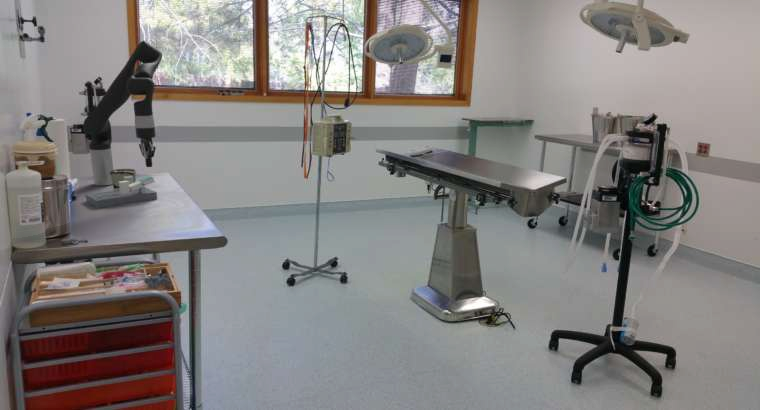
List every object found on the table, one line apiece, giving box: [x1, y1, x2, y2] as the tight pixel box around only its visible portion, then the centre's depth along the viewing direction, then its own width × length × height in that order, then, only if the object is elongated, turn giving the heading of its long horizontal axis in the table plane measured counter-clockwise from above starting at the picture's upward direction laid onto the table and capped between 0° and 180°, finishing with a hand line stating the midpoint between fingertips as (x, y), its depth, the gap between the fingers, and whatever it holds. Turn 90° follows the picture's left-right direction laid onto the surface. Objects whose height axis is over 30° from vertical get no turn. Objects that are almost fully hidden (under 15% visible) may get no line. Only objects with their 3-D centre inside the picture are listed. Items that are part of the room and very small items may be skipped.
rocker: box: [129, 175, 156, 191], centre depth 231 cm, size 5×10×2 cm, turn 133°
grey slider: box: [123, 176, 134, 184], centre depth 237 cm, size 3×3×6 cm
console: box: [85, 186, 158, 209], centre depth 231 cm, size 15×24×6 cm, turn 133°
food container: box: [109, 168, 138, 191], centre depth 248 cm, size 12×6×10 cm, turn 84°
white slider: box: [118, 180, 130, 195], centre depth 227 cm, size 3×3×6 cm
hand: (149, 166), depth 233 cm, fingers closed
